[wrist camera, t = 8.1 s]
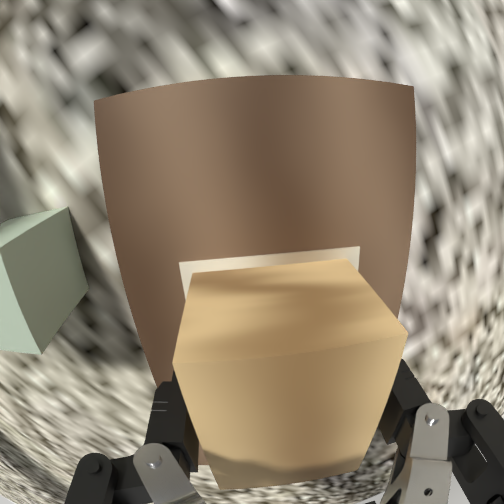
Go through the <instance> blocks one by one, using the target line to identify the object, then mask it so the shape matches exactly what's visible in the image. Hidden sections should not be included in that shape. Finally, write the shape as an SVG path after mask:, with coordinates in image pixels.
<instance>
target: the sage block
mask: <svg viewBox="0 0 504 504" xmlns="http://www.w3.org/2000/svg"><path fill="white" fill-rule="evenodd" d="M88 290H89V287H88V283H87V280H86V277H85V273H84V270H83V267H82V263H81V259H80V256H79V252H78V248H77V244H76V240H75V236H74V232H73V228H72V223H71V219H70V214H69V209H68V207H64V208H59V209H54V210H49V211H45V212H40V213H35V214H31V215H26V216H22V217H17V218H13V219H9V220H7V221H5V222H3V223H1V224H0V350H5V351H13V352H21V353H30V354H41V355H42V353H43V352H44V350H45V349H46V347H47V346H48V344H49V343H50V341H51V340H52V339H53V337H54V336H55V334H56V333H57V331H58V330H59V329H60V327H61V326H62V324H63V323H64V322H65V320H66V319H67V317H68V316H69V315H70V313H71V312H72V311H73V309H74V308H75V307H76V305H77V304H78V303H79V301H80V300H81V299H82V297H83V296H84V295H85V293H86V292H87V291H88Z"/></svg>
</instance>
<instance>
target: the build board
mask: <svg viewBox="0 0 504 504" xmlns="http://www.w3.org/2000/svg"><path fill="white" fill-rule="evenodd" d="M94 111H95V124H96V135H97V145H98V154H99V162H100V169H101V176H102V183H103V190H104V196H105V202H106V207H107V213H108V218H109V223H110V228H111V233H112V238H113V242H114V247H115V251H116V256H117V260H118V264H119V268H120V272H121V276H122V280H123V284H124V288H125V291H126V295H127V298H128V302H129V305H130V309H131V312H132V316H133V319H134V322H135V325H136V328H137V332H138V335H139V338H140V341H141V344H142V347H143V350H144V353H145V355H146V358H147V361H148V364H149V367H150V369H151V372H152V375H153V377H154V380H155V383H156V385H157V388H158V387H159V385H160V384H161V383H162V382H163V381H172V375H173V371H174V367H173V364H172V362H173V357H174V352H175V348H176V343H177V338H178V333H179V329H180V324H181V320H182V315H183V311H184V306H185V302H186V298H187V293H188V289H189V285H190V281H191V277H192V273H197V272H209V271H221V270H232V269H243V268H254V267H265V266H276V265H286V264H297V263H307V262H317V261H327V260H337V259H348V260H349V262H350V263H351V264H352V265H353V266H354V267H355V269H356V270H357V271H358V272H359V273H360V274H361V276H362V277H363V278H364V279H365V280H366V282H367V283H368V284H369V285H370V286H371V287H372V289H373V290H374V291H375V292H376V294H377V295H378V296H379V297H380V298H381V300H382V301H383V302H384V303H385V304H386V306H387V307H388V308H389V309H390V311H391V312H392V313H393V314H394V316H395V317H396V318H397V319H398V314H399V309H400V304H401V299H402V294H403V288H404V282H405V276H406V270H407V263H408V256H409V248H410V240H411V231H412V221H413V209H414V195H415V174H416V120H415V100H414V86H408V85H402V84H396V83H389V82H382V81H374V80H366V79H356V78H344V77H330V76H306V75H268V76H244V77H229V78H217V79H207V80H198V81H190V82H183V83H176V84H170V85H164V86H158V87H152V88H147V89H142V90H137V91H132V92H127V93H123V94H119V95H114V96H110V97H106V98H102V99H99V100H95V101H94ZM198 465H209V464H208V461H207V459H206V456H205V454H204V452H203V449H202V447H201V444H200V442H199V456H198Z"/></svg>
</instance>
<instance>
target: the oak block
mask: <svg viewBox="0 0 504 504" xmlns="http://www.w3.org/2000/svg"><path fill="white" fill-rule="evenodd" d="M407 336H408V332H407V331H406V330H405V328H404V327H403V326H402V324H401V323H400V322H399V321H398V319H397V318H396V317H395V316H394V314H393V313H392V312H391V311H390V309H389V308H388V307H387V306H386V304H385V303H384V302H383V301H382V300H381V298H380V297H379V296H378V295H377V294H376V292H375V291H374V290H373V289H372V287H371V286H370V285H369V284H368V283H367V282H366V280H365V279H364V278H363V277H362V276H361V274H360V273H359V272H358V271H357V270H356V269H355V267H354V266H353V265H352V264H351V263H350V262H349V260H348V259H337V260H327V261H317V262H307V263H297V264H286V265H276V266H265V267H254V268H243V269H232V270H221V271H209V272H197V273H192V277H191V281H190V285H189V289H188V293H187V298H186V302H185V306H184V311H183V315H182V320H181V324H180V329H179V333H178V338H177V343H176V348H175V352H174V357H173V362H172V364H173V367H174V371H175V374H176V377H177V380H178V383H179V386H180V389H181V392H182V395H183V398H184V401H185V404H186V407H187V409H188V412H189V415H190V418H191V421H192V423H193V426H194V429H195V431H196V434H197V436H198V439H199V442H200V444H201V447H202V449H203V452H204V454H205V456H206V459H207V461H208V464H209V466H210V468H211V471H212V473H213V475H214V478H215V480H216V482H217V484H218V487H219V489H220V490H224V489H245V488H258V487H268V486H277V485H285V484H292V483H299V482H305V481H310V480H316V479H321V478H326V477H331V476H335V475H340V474H344V473H348V472H352V471H356V470H358V469H359V466H360V464H361V462H362V460H363V458H364V456H365V454H366V452H367V449H368V447H369V445H370V443H371V440H372V438H373V436H374V433H375V431H376V429H377V426H378V424H379V421H380V419H381V416H382V413H383V411H384V408H385V406H386V403H387V400H388V397H389V394H390V392H391V389H392V386H393V383H394V380H395V377H396V374H397V371H398V367H399V364H400V361H401V357H402V354H403V350H404V347H405V343H406V340H407Z"/></svg>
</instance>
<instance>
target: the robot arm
mask: <svg viewBox="0 0 504 504" xmlns="http://www.w3.org/2000/svg"><path fill="white" fill-rule="evenodd" d="M378 425H379V428H380V430H381V432H382V434H383V437H384V439H385V441H386V444H387V445H388V444H391V443H394V442H396V443H397V445H398V448H397V450H396V454H395V458H394V463H393V467H392V471H391V475H390V479H389V482H388V486H387V489H386V491H385V493H384V495H383V497H382V499H381V502H380V504H447V503H448V496H449V490H450V482H451V474H452V472H453V474H454V476H455V477H456V479H457V481H458V483H459V484H460V486H461V488H462V490H463V491H464V493H465V495H466V497H467V499H468V500H469V502H470V504H504V420H503V418H502V417H501V416H500V414H499V413H498V412H497V411H496V409H495V408H494V407H493V406H492V405H491V403H489V402H488V401H486V400H483V399H476V400H473V401H471V402H470V403H469V404H468V406H467V408H466V409H461V410H446V409H445V408H444V407H443V406H441V405H439V404H436V403H432V402H431V401H430V400H429V398H428V396H427V395H426V393H425V392H424V390H423V389H422V387H421V385H420V384H419V382H418V381H417V379H416V378H414V375H413V373H412V372H411V371H410V369H409V367H408V365H407V364H406V362H405V361H404V360H403V359H401V361H400V364H399V367H398V371H397V374H396V377H395V380H394V383H393V386H392V389H391V392H390V394H389V397H388V400H387V403H386V406H385V408H384V411H383V413H382V416H381V419H380V421H379V424H378ZM475 444H476V445H477V447H478V448H479V450H480V451H481V453H482V454H483V456H484V457H485V459H486V460H485V459H484V457H483V456H482V454H481V453H480V451H479V450H478V448H477V447H476V446H475ZM198 456H199V439H198V436H197V434H196V431H195V429H194V426H193V423H192V421H191V418H190V415H189V412H188V409H187V407H186V404H185V401H184V398H183V395H182V392H181V389H180V386H179V383H178V380H177V377H176V374H175V371H173V375H172V381H163V382H162V383H161V384H160V385H159V387H158V388H157V389H156V391H155V395H154V400H153V405H152V411H151V414H150V419H149V424H148V429H147V434H146V439H145V443H144V445H143V446H142V447H140V448H139V449H138V450H137V451H136V452H135V454H133V455H131V456H128V457H123V458H117V459H111V460H109V459H108V458H107V457H106V456H105V455H103V454H100V453H90V454H87V455H85V456H84V457H83V458H82V459H81V460H80V461H79V463H78V465H77V468H76V471H75V474H74V477H73V479H72V482H71V485H70V488H69V491H68V494H67V497H66V500H65V504H147V503H152V502H154V504H206V503H205V501H204V500H203V499H202V497H201V496H200V495H199V494H198V492H197V491H196V490H195V488H194V487H193V485H192V484H191V482H190V472H198ZM486 461H487V462H486ZM366 504H376V503H375V501H372V502H369V503H366Z"/></svg>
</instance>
